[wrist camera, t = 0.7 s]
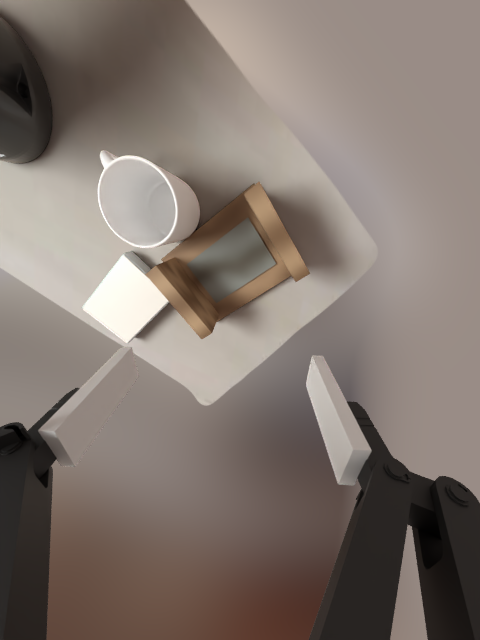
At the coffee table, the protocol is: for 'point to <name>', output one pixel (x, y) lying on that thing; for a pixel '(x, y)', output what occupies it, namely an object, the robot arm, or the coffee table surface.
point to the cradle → (228, 262)
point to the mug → (145, 202)
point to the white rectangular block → (126, 298)
